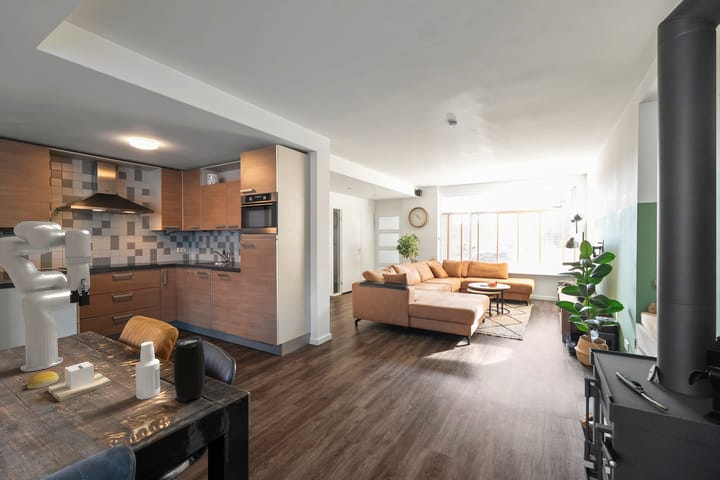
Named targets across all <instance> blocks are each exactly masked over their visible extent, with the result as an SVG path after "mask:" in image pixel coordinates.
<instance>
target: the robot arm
mask: <svg viewBox="0 0 720 480" xmlns="http://www.w3.org/2000/svg"><path fill="white" fill-rule="evenodd" d="M13 233H14V235H15V236H6V237H0V267H1V268H2V269H4V271H5V272H6V273H7V274H8V277H9V278H10V281H11V282H12V284H13V286H14V287H15V289H16V290H17V292H18V293H19V294H20V295H24V296H23V297H22V298H21V300H20V310H21V312H22V313H21V314H22V317H23V322H24V325H23V326H24V342H25V347H24V349H25V363H24V364H23V365H21V367H20V371H21V372H26V373H27V372H35V371H41V370H47V369H49V368H53V367H55V366H58V365H60V364H61V363H63V361H64V359H63V357H60V356H59V354H58V353H59V352H58V351H59V349H58V345H59V344H58V323H57V320H56V319H55V318H54V317H52V316H51V315H50V314H51V313H55V312H59V311H60V312H61V311H65V310H69V309H73V308H74V307H75V306H76V305H78V307H85V306H89V305H90V298H91V297H90V288H91V277H90V275H91V274H90V266H89V265H92V242H91V232H90V231H89V230H87V229H62V226H61V225H60V224H58V223H57V222H54V221H40V220H39V221H36V220H35V221H34V220H33V221H31V220H28V221H22V222H19V223H17V224H16V225H15V226H14V228H13ZM53 249H64V254H65V255H64V257H65V259H64V260H65V263H64V264H65V266H67V269H66V274H65V273H63V272H61V271H59V270H45V271H40V270H39V269H37V267H36V265H35V264H34V263H33V262H31V260H28V259H26V258H25V257H22V256H35V255H36V256H38V255H39V256H40V255H45V254H47V253H49V252H50V251H51V250H53Z"/></svg>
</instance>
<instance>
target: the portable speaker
mask: <svg viewBox="0 0 720 480" xmlns="http://www.w3.org/2000/svg"><path fill="white" fill-rule="evenodd" d="M175 346H176V347H175V351H174V357H173V383H174V388H175V394H176V399H177V401H178V403H183V404H185V403H186V402H187V401H188V400H192V399H195V398H196V400H198V399H199V400H200V399H201V398H202V397H203V396H204V395H203V394H204V389H205V380H206V379H205V377H206V363H205V362H206V361H205V358H206V357H205V355H206V354H205V349H204V344H203V339H202V337H201V336H197V335H196V336H191V337H188V338H184V339H178V340H176V342H175Z"/></svg>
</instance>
